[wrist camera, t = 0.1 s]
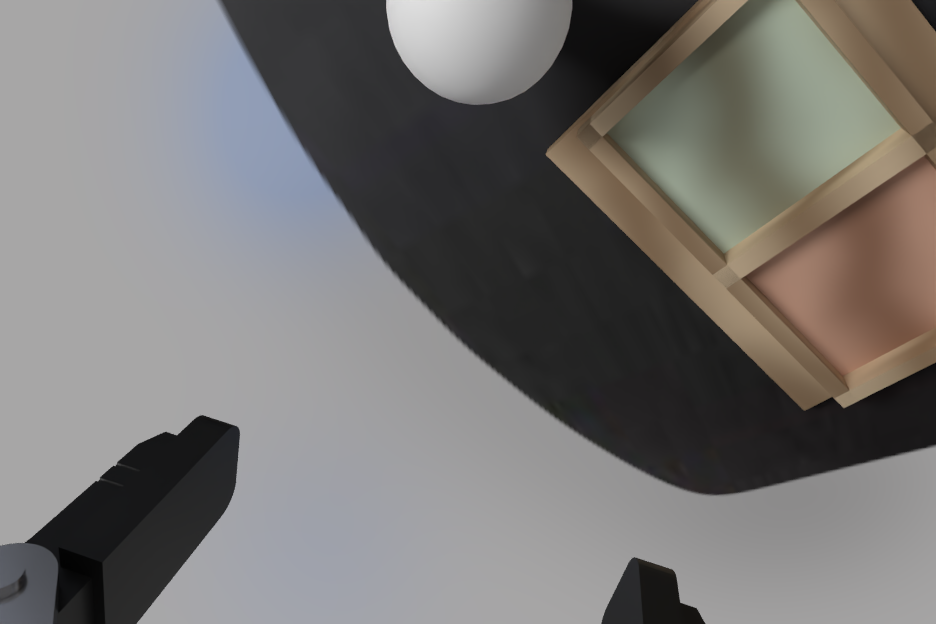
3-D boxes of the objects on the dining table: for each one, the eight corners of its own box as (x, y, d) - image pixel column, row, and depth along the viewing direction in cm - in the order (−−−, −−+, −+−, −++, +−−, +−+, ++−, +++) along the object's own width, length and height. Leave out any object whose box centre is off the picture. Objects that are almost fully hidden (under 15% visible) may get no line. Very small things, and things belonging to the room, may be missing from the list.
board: (814, -114, 23) (831, -118, 21) (1094, 245, 27) (1130, 269, 25) (548, 148, 30) (542, 163, 28) (800, 399, 34) (810, 428, 32)
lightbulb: (604, 31, 27) (590, 83, 18) (479, 82, 29) (410, 151, 20) (560, -124, 24) (518, -156, 15) (427, -56, 27) (321, -47, 18)
